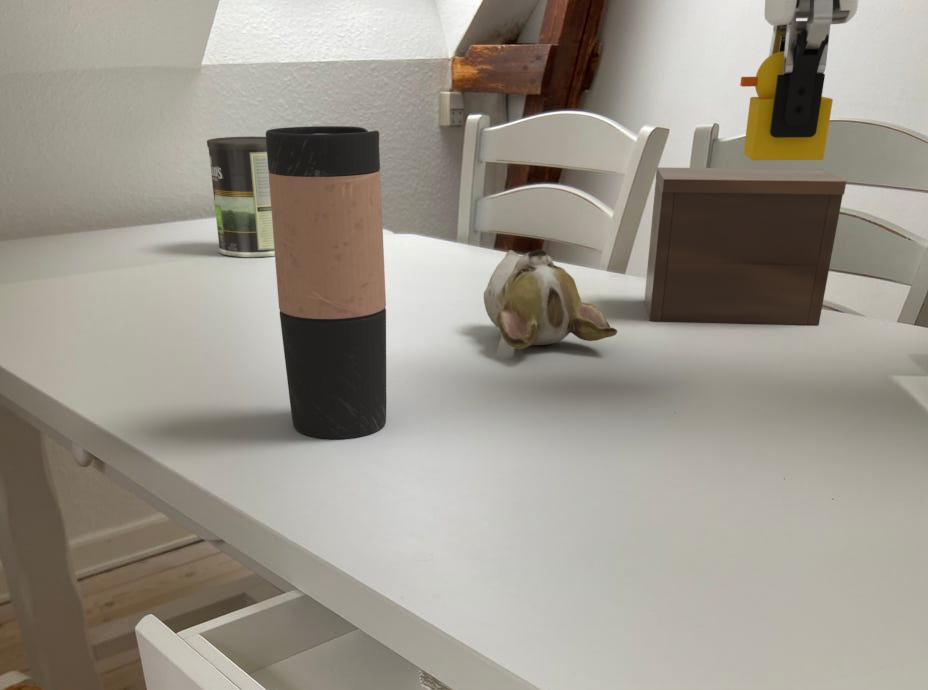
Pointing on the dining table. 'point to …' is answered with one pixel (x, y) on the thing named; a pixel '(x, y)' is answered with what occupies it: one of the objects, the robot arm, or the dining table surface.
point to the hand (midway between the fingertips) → (786, 131)
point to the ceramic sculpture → (539, 303)
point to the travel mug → (330, 276)
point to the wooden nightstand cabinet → (741, 244)
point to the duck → (760, 117)
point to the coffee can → (242, 196)
